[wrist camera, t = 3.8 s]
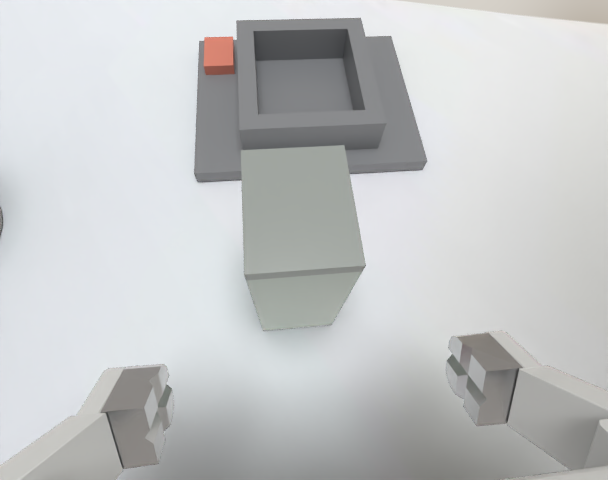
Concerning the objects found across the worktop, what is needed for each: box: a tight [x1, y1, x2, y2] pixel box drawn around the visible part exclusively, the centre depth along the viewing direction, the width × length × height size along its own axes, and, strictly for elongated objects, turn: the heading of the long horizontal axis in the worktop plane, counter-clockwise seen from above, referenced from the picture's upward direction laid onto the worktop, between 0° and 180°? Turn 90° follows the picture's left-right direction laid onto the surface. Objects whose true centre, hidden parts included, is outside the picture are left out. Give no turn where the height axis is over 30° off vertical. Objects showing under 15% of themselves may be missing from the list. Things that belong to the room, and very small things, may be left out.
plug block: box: [241, 145, 366, 331], centre depth 17 cm, size 4×5×10 cm
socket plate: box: [194, 18, 427, 182], centre depth 26 cm, size 16×13×4 cm
